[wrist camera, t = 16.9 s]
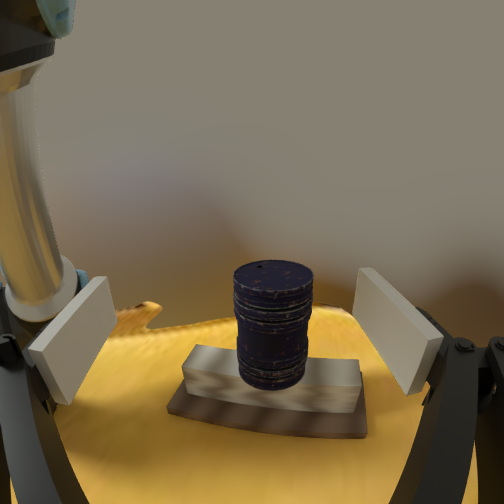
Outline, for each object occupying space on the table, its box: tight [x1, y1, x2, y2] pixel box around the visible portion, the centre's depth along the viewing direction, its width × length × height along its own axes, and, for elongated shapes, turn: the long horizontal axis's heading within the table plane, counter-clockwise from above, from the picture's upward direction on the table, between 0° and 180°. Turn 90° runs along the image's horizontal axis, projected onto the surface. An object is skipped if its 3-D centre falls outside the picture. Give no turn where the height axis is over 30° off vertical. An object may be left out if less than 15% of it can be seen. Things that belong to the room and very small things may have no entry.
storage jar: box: [233, 260, 313, 391], centre depth 37 cm, size 10×10×15 cm
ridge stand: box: [167, 344, 367, 439], centre depth 41 cm, size 30×14×8 cm, turn 77°
